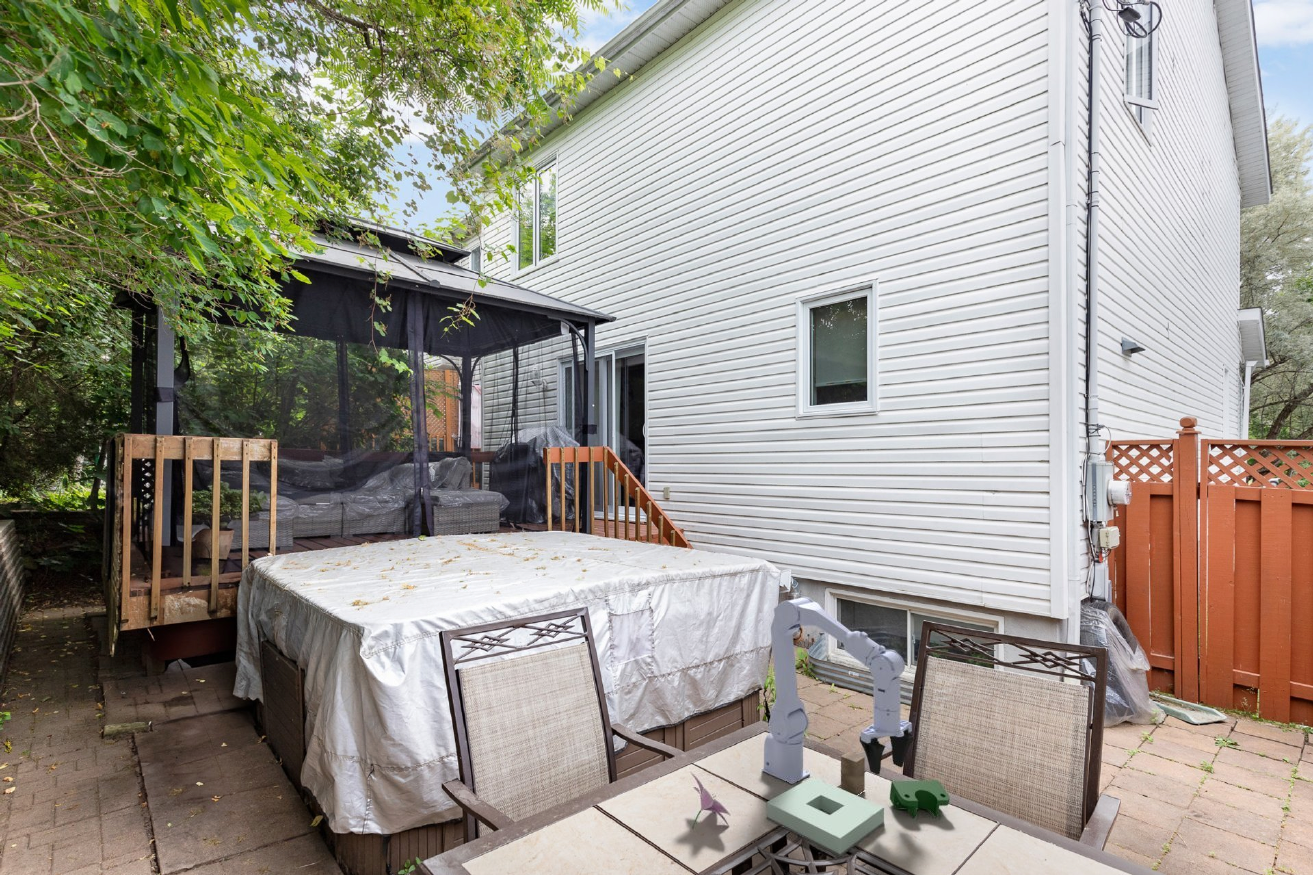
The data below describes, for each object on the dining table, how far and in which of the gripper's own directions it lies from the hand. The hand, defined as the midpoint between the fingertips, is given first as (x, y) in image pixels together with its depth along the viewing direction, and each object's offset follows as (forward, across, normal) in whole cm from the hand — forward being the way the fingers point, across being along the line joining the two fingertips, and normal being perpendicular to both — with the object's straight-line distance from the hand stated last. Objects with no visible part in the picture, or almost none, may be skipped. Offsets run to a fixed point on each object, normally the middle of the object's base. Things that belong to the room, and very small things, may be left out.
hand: (886, 769), depth 139 cm
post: (+10, +2, +11) cm, 15 cm away
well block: (+10, -14, +4) cm, 18 cm away
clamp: (+10, +8, -3) cm, 13 cm away
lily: (+10, -37, +16) cm, 42 cm away
